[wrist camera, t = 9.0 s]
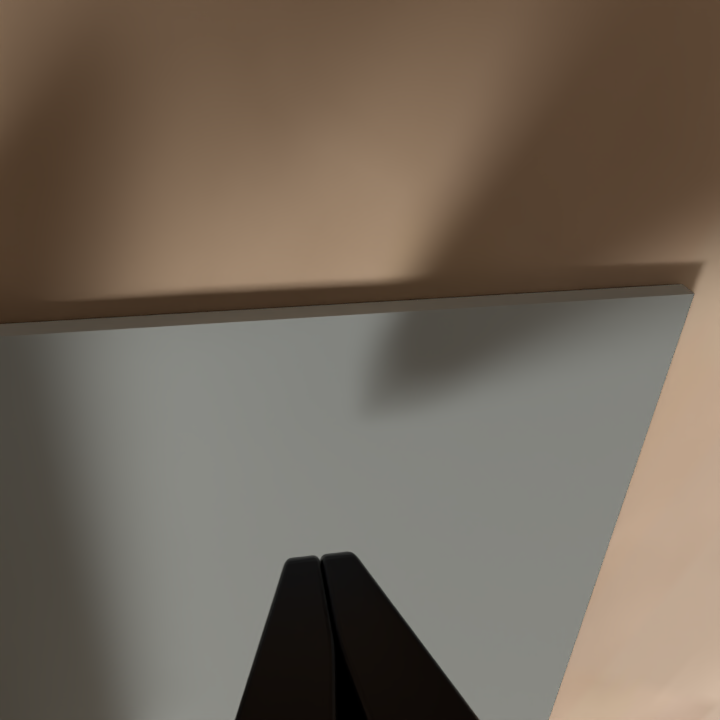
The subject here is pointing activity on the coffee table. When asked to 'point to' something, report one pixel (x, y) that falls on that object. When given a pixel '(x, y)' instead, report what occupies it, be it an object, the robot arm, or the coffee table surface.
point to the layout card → (314, 487)
